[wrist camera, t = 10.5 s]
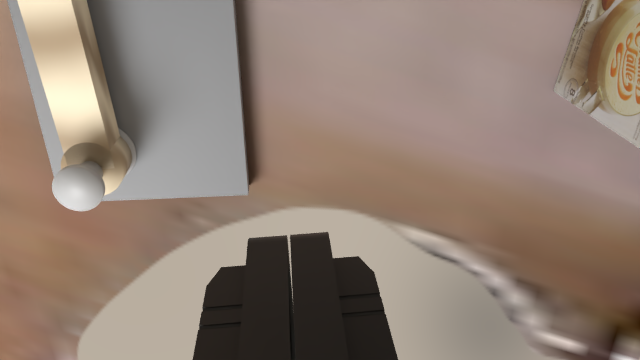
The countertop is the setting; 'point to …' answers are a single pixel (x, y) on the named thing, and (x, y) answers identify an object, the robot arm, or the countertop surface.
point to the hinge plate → (158, 101)
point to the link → (76, 86)
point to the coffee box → (605, 65)
